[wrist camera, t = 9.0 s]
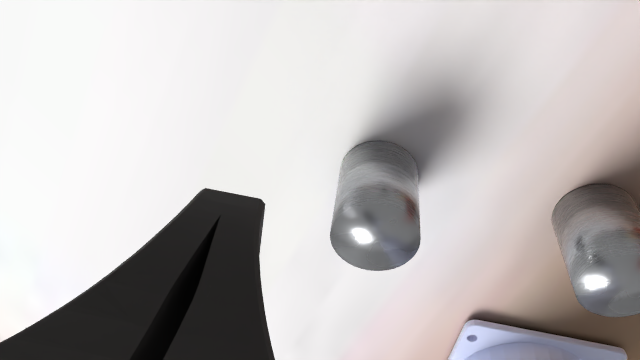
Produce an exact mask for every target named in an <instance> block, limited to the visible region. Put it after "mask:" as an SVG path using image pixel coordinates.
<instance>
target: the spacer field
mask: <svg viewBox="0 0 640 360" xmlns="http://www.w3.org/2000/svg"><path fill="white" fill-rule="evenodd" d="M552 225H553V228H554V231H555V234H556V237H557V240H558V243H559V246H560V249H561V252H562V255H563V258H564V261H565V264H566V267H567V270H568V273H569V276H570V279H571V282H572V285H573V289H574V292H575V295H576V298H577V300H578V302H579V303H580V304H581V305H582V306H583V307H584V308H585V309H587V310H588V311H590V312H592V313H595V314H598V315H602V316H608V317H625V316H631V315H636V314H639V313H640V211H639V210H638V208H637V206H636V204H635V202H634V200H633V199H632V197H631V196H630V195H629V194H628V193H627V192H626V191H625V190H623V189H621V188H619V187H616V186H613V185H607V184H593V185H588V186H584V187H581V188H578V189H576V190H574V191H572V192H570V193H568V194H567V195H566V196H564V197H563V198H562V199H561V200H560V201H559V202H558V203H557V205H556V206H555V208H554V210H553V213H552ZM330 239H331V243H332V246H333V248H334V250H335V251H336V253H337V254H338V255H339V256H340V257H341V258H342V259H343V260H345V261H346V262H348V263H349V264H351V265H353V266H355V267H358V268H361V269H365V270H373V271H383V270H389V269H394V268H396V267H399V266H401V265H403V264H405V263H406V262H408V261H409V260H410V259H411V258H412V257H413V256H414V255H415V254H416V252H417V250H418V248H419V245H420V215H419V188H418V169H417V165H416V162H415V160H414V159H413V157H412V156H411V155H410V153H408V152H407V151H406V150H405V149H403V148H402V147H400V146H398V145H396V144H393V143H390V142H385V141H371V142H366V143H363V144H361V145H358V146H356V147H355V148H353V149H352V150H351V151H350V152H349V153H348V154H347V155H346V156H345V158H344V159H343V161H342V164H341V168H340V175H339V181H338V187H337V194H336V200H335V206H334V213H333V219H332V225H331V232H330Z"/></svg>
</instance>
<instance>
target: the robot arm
mask: <svg viewBox="0 0 640 360" xmlns="http://www.w3.org/2000/svg"><path fill="white" fill-rule="evenodd" d="M264 210H265V203H264V202H263V201H262V200H261V199H258V198H253V197H248V196H243V195H238V194H233V193H227V192H222V191H217V190H212V189H207V188H205V189H203V190H202V191H200V192H199V193H198V194H197V195H196V196H195V197H194V198H193V199H192V200H191V201H190V203H189V204H188V205H187V206H186V207H185V208H184V209H183V210H182V211H181V212H180V213H179V214H178V215H177V216H176V217H175V218H173V219H172V220H171V221H170V222H169V223H168V224H167V225H166V226H165V227H164V228H163V229H162V230H161V231H160V232H158V233H157V234H156V235H155V236H154V237H153V238H152V239H151V240H150V241H148V242H147V243H146V244H145V245H144V246H143V247H142V248H141V249H139V250H138V251H137V252H136V253H135V254H133V255H132V256H131V257H130V258H128V259H127V260H126V261H125V262H123V263H122V264H121V265H120V266H118V267H117V268H116V269H115V270H113V271H112V272H111V273H110V274H108V275H107V276H106V277H104V278H103V279H102V280H100V281H99V282H97V283H96V284H95V285H93V286H92V287H91V288H89V289H88V290H86V291H85V292H83V293H82V294H80V295H79V296H77V297H76V298H75V299H73V300H72V301H70V302H69V303H67V304H66V305H64V306H62V307H61V308H59V309H58V310H56V311H54V312H53V313H51V314H49V315H48V316H46V317H45V318H43V319H41V320H40V321H38V322H36V323H35V324H33V325H31V326H30V327H28V328H26V329H24V330H23V331H21V332H19V333H17V334H16V335H14V336H12V337H10V338H8V339H6V340H4V341H2V342H0V360H275V358H274V354H273V350H272V346H271V341H270V337H269V332H268V327H267V322H266V316H265V310H264V303H263V296H262V288H261V278H260V262H259V253H260V244H261V236H262V227H263V219H264ZM448 360H627V355H626V352H625V350H624V349H622V348H619V347H615V346H610V345H604V344H599V343H594V342H589V341H584V340H579V339H574V338H569V337H563V336H558V335H553V334H548V333H543V332H538V331H533V330H528V329H522V328H517V327H512V326H507V325H502V324H497V323H492V322H487V321H481V320H470V321H468V322H466V323H465V325H464V327H463V329H462V331H461V333H460V335H459V337H458V339H457V341H456V344H455V346H454V348H453V350H452V352H451V354H450V356H449V358H448Z"/></svg>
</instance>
